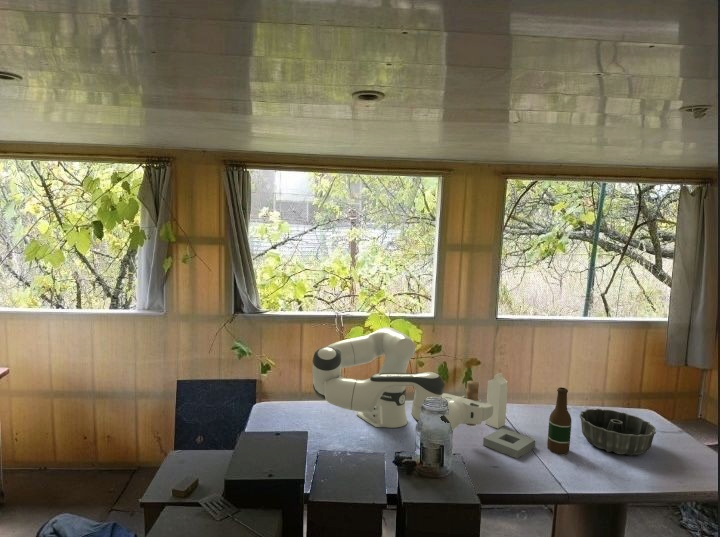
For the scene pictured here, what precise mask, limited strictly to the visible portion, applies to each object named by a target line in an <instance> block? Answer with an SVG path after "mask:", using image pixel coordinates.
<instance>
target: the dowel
mask: <svg viewBox="0 0 720 537" xmlns="http://www.w3.org/2000/svg"><path fill="white" fill-rule="evenodd" d="M479 384H480V383H479V382H478V381H475V380H467V381H466V389H465V391H466V393H465V396H466V399H470V400H474V401H477V400H478V399H479V388H480V386H479ZM465 425H467V426H469V427H471V426H472V427H473V426H477V424H465Z"/></svg>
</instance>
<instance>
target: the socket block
mask: <svg viewBox="0 0 720 537" xmlns="http://www.w3.org/2000/svg"><path fill="white" fill-rule="evenodd" d="M482 442H483V443H482V445H483V446H484V447H487V448H489V449H492V450H493V451H497V452H499V453H502V454H504V455H507V456H510V457H512V458H514V457H515V459H517V458H518V459H519V458H521V457H523V456H524V455H525V454H527V453H529V452H530V451H532V450H533V449H534V447H535V448H536V439H535V438H531V437H528V436H526V435H523V434H520V433H517V432H515V431H512V430H510V429H506V428H504V427H500V428H498V429H497V430H495V431H493V432H491V433H490V434H487V435H486V436H484V437H483V440H482ZM523 454H524V455H523ZM520 456H521V457H520Z"/></svg>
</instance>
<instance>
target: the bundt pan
mask: <svg viewBox="0 0 720 537" xmlns="http://www.w3.org/2000/svg"><path fill="white" fill-rule="evenodd" d="M579 418H580V424H581V426H580V427H581V432H582V435H583V436H584V437H585V439H586V440H587V442H588V443H589V444H591V445H593V446H595V447H596V448H598V449H601V450H605V451H606V452H607V453H610V452H611V453H612V452H614V453H615V454H617V455H626V456H628V457H629V456H630V457H631V456H633V455H642V454H643V453H646V452H648V451H649V450H650V449H651V447H652V443H653V440H654V437H655V434H657V431H656V427H655V425H653V424H651V423H650V422H649V421H647V420H644V419H643V418H641V417H639V416H636V415H632V414H628V413H627V412H622V411H621V412H620V411H617V410H613V409H602V408H595V409H594V408H593V409H592V408H588V409H585V410H583V411H582V410H581V411H580V413H579Z"/></svg>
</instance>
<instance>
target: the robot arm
mask: <svg viewBox="0 0 720 537" xmlns="http://www.w3.org/2000/svg"><path fill="white" fill-rule="evenodd" d="M415 352H416V345H415V343H414V341H413V340H412V338H410V336H409V335H407V334H405V333H403V332H402V331H399V330H397V329H395V328H393V327H390V326H384V327H383V326H382V327H379V329H377V330H376V331H373V332H371V333H368V334H365V335H361V336H356V337H351V338H347V339H343V340H339V341H336V342H333V343H331V344H329V345H327V346H323V347H322V346H321V347H320V348H318V349H317V350H316V351H315V352H314V354H313V357H312V367H311V368H312V370H311V375H312V382H313V384H312V388H313V392H314V394H315V395H316V396H317V397H318V398H319V399H322V400H326V402H327V403H329V404H330V405H333V406H335V407H338V408H341V409H345V410H347V411H348V410H349V411H353V412H354V411H355V412H357V413H356V416H357V417H359V418H360V419H363V421H366V422H367V423H369V424H370V425H372V426H373V427H375V428H390V429H391V428H393V429H394V428H401V427H404V426H406V425H407V424H408V418H407V413H406V412H407V411H406V397H407V389H406V387H409V388H411V387H414V395H413V401H412V407H411V413H410V414H411V416H412V418H413V420H414V421H415V422H416V423H417V424H418V421H419V418H420V413H421V406H422V404H423V401H424V400H425V399H426V398H427V397H431V396H436V397H442V398H445V399H446V400H447V402H448V409H449V415H448V416H447V415H443V416H441V417H440V418H441V420H442V421H444V422H445V423H446V422H447V423H450V425H451V427H452V431H454V430H455V429H457V428H458V427H459V426H460V425H466V424H476V426H477V425H479V426H480V425H481V424H482V422H484V421H486V420H487V419H489V418H490V417H491V416H492V415H493V406H492V405H491V404H487V402H483V401H482V400H483V399H479V398H478V400H477V401H474V400H470V399H466V395H462V396H459V395H458V396H457V395H454V394H451V393H447V392H446V393H445V392H444V391H445V386H446V383H445V381H444V380H443V378H442V377H441V375H440V374H439V373H437V372H432V371H423V372H422V371H421V372H407V369H408V366H409V362H410V360H411V359H412V358H413V357H414V355H415ZM381 356H384V359H383V363H382V366H381V367H380V368H379V373H375V374H372V375H371V376H370V378H366V379H358V378H350V377H349V378H348V377H343V376H342V369H346V368H351V367H357V366H361V365H365V364H369V363H372V362H373V361H374V360H375V359H376V358H379V357H381Z"/></svg>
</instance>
